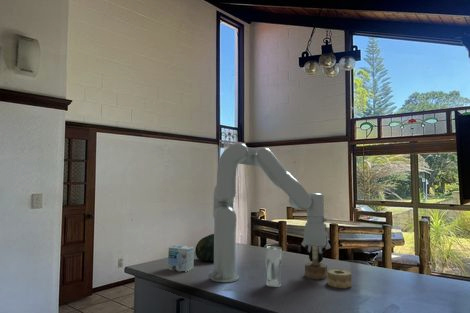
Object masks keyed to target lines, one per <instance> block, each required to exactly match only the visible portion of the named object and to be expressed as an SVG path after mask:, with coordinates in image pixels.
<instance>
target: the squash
mask: <svg viewBox="0 0 470 313" xmlns="http://www.w3.org/2000/svg"><path fill="white" fill-rule="evenodd" d="M194 254H195V256H196V258H197V259H198V260H200V261H201V262H204V261H211V262H214V233H211V234H209V235H206V236H204V237H202V238H200V239H199V240H198V242H197V244H196V246H195V248H194Z"/></svg>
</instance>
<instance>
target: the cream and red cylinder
mask: <svg viewBox="0 0 470 313" xmlns="http://www.w3.org/2000/svg"><path fill="white" fill-rule="evenodd" d="M318 253H319V246H312V261H311V263H312V266H320V263H321V262H320V263H319V262H318Z"/></svg>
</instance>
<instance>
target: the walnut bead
mask: <svg viewBox="0 0 470 313" xmlns="http://www.w3.org/2000/svg"><path fill="white" fill-rule="evenodd" d="M304 276H305V277H306V278H308V279H312V280H324V279H326V278H328V265H327V264H325V263H322V262H320V266H312V262H307V263H305V264H304Z"/></svg>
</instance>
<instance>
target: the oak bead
mask: <svg viewBox="0 0 470 313" xmlns="http://www.w3.org/2000/svg"><path fill="white" fill-rule="evenodd" d="M327 284H328V286H330V287H332V288H337V289H338V288H339V289H347V288H350V287H352V273H351V271H348V270H345V269H338V268H337V269H335V268H332V269H329V270H328V269H327Z"/></svg>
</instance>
